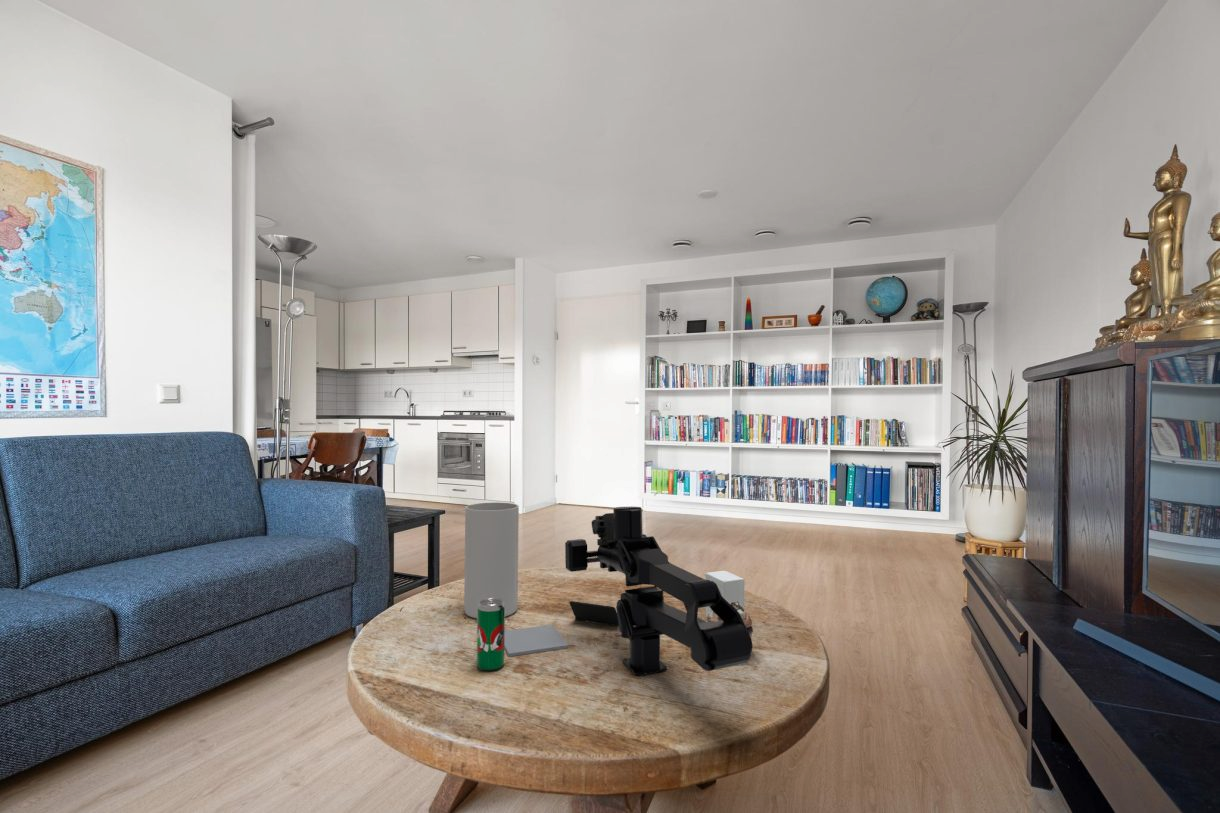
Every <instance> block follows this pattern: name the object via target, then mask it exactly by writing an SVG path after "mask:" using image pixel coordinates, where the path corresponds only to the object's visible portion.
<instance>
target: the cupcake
mask: <svg viewBox="0 0 1220 813" xmlns="http://www.w3.org/2000/svg"><path fill="white" fill-rule="evenodd" d="M730 605H731V606H733V607H734V608H735V609H736V610H737V611H738V612H739V614H740V616H741V618H742V620H743V622H744V624H745V626H746V628H747V631H748V633H749V635H750V637H751V638H752V635H753V633H754V629H753V626H752V625H753V620H752V619H751V617H750V616H749V614H748V613H747V612H746V611H745V612H744V608H743V607H742V605H741V604H740V603H739V602H738V601H737V602H732V603H731V604H730ZM706 619H707V620H706V622H724V621H723V620H722V619H721V618H720V617H718V616H717V615H716V614H715V613H714V612H711V613H710V614H708V617H707V618H706Z"/></svg>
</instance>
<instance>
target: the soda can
mask: <svg viewBox="0 0 1220 813" xmlns="http://www.w3.org/2000/svg"><path fill="white" fill-rule="evenodd" d="M479 604H480V605H479V606H478V608H477V619H476V666H477V668H478V669H479V670H481V671H484V672H494V671H497V670H499V669H501V668H502V667H503V666H504V664H505V648H504V647H505V631H506V628H505V627H506V626H505V625H506V624H505V623H506V617H505V606H504V604H503V600H501V599H497V598H489V599H484V600H482V601H480V603H479Z"/></svg>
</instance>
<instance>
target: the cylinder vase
mask: <svg viewBox="0 0 1220 813" xmlns="http://www.w3.org/2000/svg"><path fill="white" fill-rule="evenodd" d="M464 507H465V509H464V511H465V512H464V513H465V516H464V518H465V520H464V521H465V522H464V524H465V525H464V583H463V584H464V593H463V594H464V597H463V598H464V604H463V606H464V607H463V608H464V609H463V610H464V613H465V614H466V615H467V616H468V617H470V618H473V619H476V620H477V608H478V606H479V605H480V604H479V603H480V601H482V600H484V599H489V598H497V599H501V600H503V604H504V606H505V618H506V617H509V616H510V615H513V614H514V613H515V612H516V611H517V610H518V607H519V606H518V605H519V603H518V602H519V601H518V600H519V598H518V596H519V522H520V521H519V517H520V516H519V515H520V514H519V510H520V508H519V507H520V506H519V504H517V503H511V502H499V501H498V502H482V503H481V502H478V503H473V504H468V505H466V506H464Z"/></svg>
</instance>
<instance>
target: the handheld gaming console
mask: <svg viewBox="0 0 1220 813" xmlns="http://www.w3.org/2000/svg"><path fill="white" fill-rule="evenodd" d="M569 605H570V608H571V610H572V613H573V615H574V618H575V619H574V620H575V621H578V622H587V623H593V624H601V625H607V626H613V627H618V628H619V625H618V617H617V610H616V607H614V606H611V605H604V604H603V605H602V604H595V603H588V602H582V601H581V602H580V601H573V600H571V601H569Z"/></svg>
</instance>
